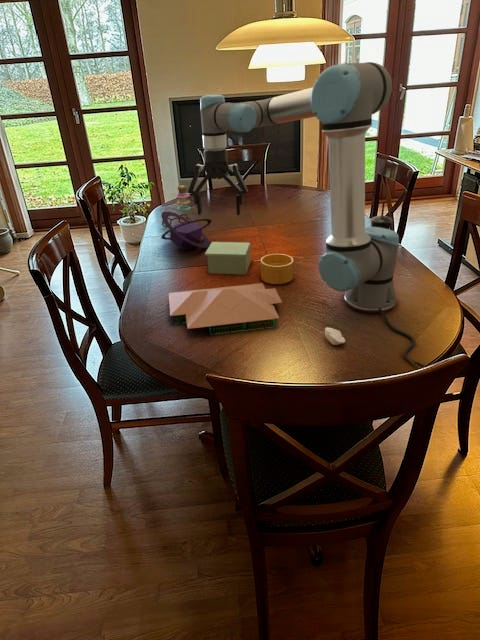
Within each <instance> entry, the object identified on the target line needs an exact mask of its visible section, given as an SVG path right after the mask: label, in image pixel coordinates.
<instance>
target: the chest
mask: <svg viewBox="0 0 480 640" xmlns="http://www.w3.org/2000/svg"><path fill="white" fill-rule="evenodd" d="M206 258H207V269H208V274H214V275H215V274H217V275H218V274H219V275H220V274H221V275H244V276H245V275H247V273H248V270H249V267H250V265H251V261H252V259H251V258H252V257H251V245H250V246H249V249H248V251H247V254H246V257H237V256H207V257H206Z"/></svg>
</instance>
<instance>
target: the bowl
mask: <svg viewBox="0 0 480 640" xmlns="http://www.w3.org/2000/svg"><path fill="white" fill-rule="evenodd" d="M294 263H295V259H294V258H293V256H290V255H288V254H284V253H270V254H266V255H264V256H262V257H261V258H260V279H261V280H262V281H263V282H264V283H267V284H270V285H283V284H287V283H290V282H291V281H292V280H293V279H294V265H295V264H294Z"/></svg>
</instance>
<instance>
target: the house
mask: <svg viewBox="0 0 480 640" xmlns="http://www.w3.org/2000/svg"><path fill="white" fill-rule="evenodd" d="M168 298H169V299H168V303H169V316H170V317H172V319H173V320H179V319H181V320H182V321H183V319H185V322H184V321H183V324H186V328H187V330H191V329H201V328H208V329H209V334H210V335H212V330H213V331H215V330H216V333H215V335H218V334H219V335H221V334H227V333H229V331H227V332H226V331H221V330H220V329H218V327H220V326H222V329H228V325H230V326H232V328H233V329H234V328H236V330H233V331H232V333H236V332H243V331H244V332H245V331H247V323H248V326H254V327H253V328H251V329H250V328H249V331H252V330H256V328H255V327H256V323H255V322H258V325H261V321H262V322H263V321H265V324H267V323H268V326H266V329H270V328H271V329H272V326H269V324H271V321H272V324H273V326H274V328H276V327H277V321H276V320H277V319H280V316H279V314H278V313H277V310H276V308H275V305H279V304H283V301H282V299H281V297H280V295H279V293H278V292H277V289H276V288H275V287H274V288H266V287H265V285H264V283H263V282H260V283H259V282H258V283H249V284H241V285H232V286H223V287H222V286H221V287H212V288H203V289H193V290H184V291H183V290H182V291H175V292H174V291H173V292H168ZM177 316H179V318H178V317H177ZM181 316H184V317H181ZM175 317H176V318H175ZM266 321H267V322H266ZM173 324H174V325H177V324H179V322H176V321H173ZM235 324H236V325H235ZM237 324H239V327H243V328H244V329H241V330H240V329H239V330H238V329H237V327H238V325H237ZM226 325H227V326H226ZM223 326H224V327H223ZM211 327H212V328H211ZM214 327H215V328H214ZM260 329H263V327H259V328H258V330H260ZM217 330H218V331H219V332H217ZM220 331H221V332H220Z"/></svg>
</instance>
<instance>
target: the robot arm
mask: <svg viewBox="0 0 480 640" xmlns="http://www.w3.org/2000/svg"><path fill="white" fill-rule="evenodd" d="M392 90H393V81H392V77H391V74H390V73H389V71H388V70H387V69H386V68H385V67H384V66H383V65H382V64H380V63H377V62H373V61H368V62H367V61H366V62H345V63H344V62H342V63H339V64H334V65H331V66H329V67H326V69H324V70H323V71H322V72H321V73H319V75H318V77H317V79H316V80H315V81H314V83H313V86H312V87H309V88H305V89H300V90H297V91H293V92H290V93H286V94H285V93H284V94H282V95H277V96H274V97H269V98H265V99H259V100H252V101H244V102H243V101H241V102H226V100H225V96H224V95H223V94H207V95H202V96H201V97H200V99H199V103H200V104H199V105H200V107H199V108H200V110H199V112H200V122H201V132H202V147H203V149H204V150H203V161H204V164H200V163H197V164H196V165H195V166H194V174H193V177H192V180H191V181H190V185H189V187H188V189H187V194H189V195H192V196H193V203H194V205H196V206H197V215H198V216H201V214H202V213H203V205H202V195H201V193H200V191H201V190H202V188H203V187H204V186H205V185H206V183H207V182H208V180H209V179H211V180H216V179H217V180H222V179H223V180H224V181H226V182H227V184H229V186H230V187H231V188H232V189H233V190H234V191H235V193H236V195H235V202H236V216H240V215H241V206H243V203H244V195H245V194H248V191H249V189H248V186H247V185H246V183H245V181H244V179H243V177H242V175H241V174H240V171H239V168H238V163H233V164H229V162H228V150H227V147H228V143H227V131H230V132H237V133H248V132H251V131H252V129H257V128H262V127H271V126H276V125H278V124H284V123H289V122H290V123H291V122H294V121H300V120H305V119H311V118H316V119H317V120H318V121H319V122H321V132H322V133H323V134H324V135H325V136H326V137H327V139H328V164H329V165H328V167H329V170H328V171H329V198H330V225H331V226H330V229H331V230H330V231H331V233H330V235H329V236H328V237H327V238H326V240H325V253H323V254H322V256H321V257H320V258H319V261H318V265H317V266H318V267H317V268H318V273H319V276H320V277H321V279H322V281H323V282H324V283H325V284H326V285H327V287H328V288H330V289H331V290H333V291H337V292H341V293H342V292H344V303H345V305H346V306H347V307H349V308H351V309H352V310H354V311H357V312H361V313H365V314H381V315H382V317H383V318H384V321H385V322H386V324H387V326H388V327H389V328H390V329H391V330H393V331H394V332H396V333H398V334H401V335H403V336H404V337H407V338H408V339H410V340H411V344H410V345H409V346H408V347H407V348H406V349H405V350H404V352H403V357H404V359H405V361H407V362H408V363H411V364H413V365H416V364H417V366H419V367H421V368H422V367H425V366H426V365H425V364H423V363H421V362H419V361H417V360H413V359H412V358H409V356H408V352H410V350H412V349H413V348H414V346H415V345H416V341H415V339H414V337H413V336H412V335H411V334H409V333H407V332H404V331H402V330H400V329H397V328H396V327H394V326H393V325H392V324H391V323H390V322H391V321H389V319H388V317H387V315H386V313H387V312H390V311H391V310H393V309H395V307H396V303H397V294H396V291H395V286H394V275H395V268H396V263H397V256H398V250H399V247H400V244H399V242H400V236H399V233H397V232H396V231H394V230H392V229H390V230H389V229H385V228H380V227H371V226H366V134H367V132H369V130H370V128H371V127H372V125H373V115H374V114H377V113H378V112H379V111H381V110H382V109H383V108H385V106H386V105H387V103H388V102H389V100H390V97H391V95H392ZM229 170H230V172H232V174H233V175H234V177H235V179H236V181H237V182H236V181H235V180H234V179H233V178H232V177H231V175H230V174H229V173H228V172H229ZM203 171H204V172H205V173H206V174H205V175H204V177H203V179H202V180H201V181H200V183H199V184H198V186H197V187H196V184H197V181H198V179H199V176H200V173H201V172H203ZM195 187H196V188H195ZM408 358H409V359H410V360H411V361H412V362H414V363H415V364H414V363H412V362H411V361H410V360H409V359H408Z"/></svg>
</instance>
